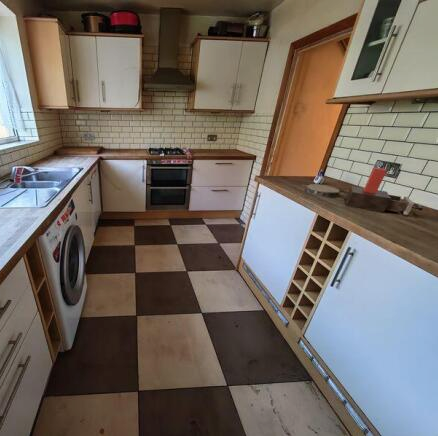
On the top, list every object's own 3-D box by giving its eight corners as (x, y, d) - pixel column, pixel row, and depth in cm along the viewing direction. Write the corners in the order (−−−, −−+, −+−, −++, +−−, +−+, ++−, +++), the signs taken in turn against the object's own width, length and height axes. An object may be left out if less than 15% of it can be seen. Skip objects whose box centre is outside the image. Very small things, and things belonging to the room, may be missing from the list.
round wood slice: (344, 197, 132) (346, 192, 131) (318, 197, 132) (320, 192, 130) (324, 188, 147) (325, 184, 145) (300, 188, 146) (302, 184, 145)
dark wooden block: (379, 204, 123) (386, 191, 119) (383, 212, 113) (391, 198, 110) (345, 198, 131) (351, 185, 127) (346, 205, 121) (352, 191, 117)
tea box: (374, 191, 119) (385, 168, 114) (375, 193, 116) (387, 170, 110) (363, 189, 121) (373, 167, 116) (364, 191, 118) (374, 168, 113)
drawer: (413, 209, 115) (420, 198, 113) (420, 217, 106) (427, 206, 104) (367, 201, 125) (372, 191, 122) (370, 207, 116) (375, 197, 113)
